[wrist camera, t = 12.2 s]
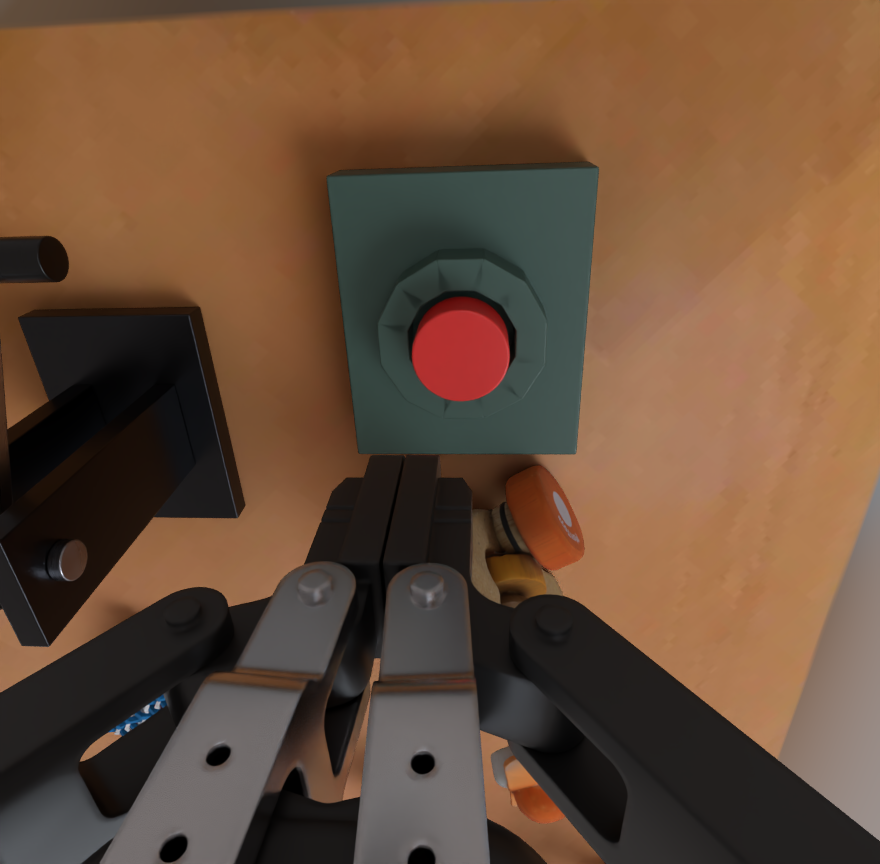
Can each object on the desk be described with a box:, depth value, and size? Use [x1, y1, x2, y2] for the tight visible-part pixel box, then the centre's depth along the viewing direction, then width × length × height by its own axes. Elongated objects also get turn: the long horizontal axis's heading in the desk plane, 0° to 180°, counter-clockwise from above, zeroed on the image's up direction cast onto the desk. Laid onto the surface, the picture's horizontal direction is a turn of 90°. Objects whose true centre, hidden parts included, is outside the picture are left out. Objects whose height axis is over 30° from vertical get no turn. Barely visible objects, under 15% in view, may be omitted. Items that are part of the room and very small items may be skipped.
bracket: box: [0, 307, 245, 647], centre depth 25 cm, size 11×8×13 cm
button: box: [412, 297, 510, 401], centre depth 23 cm, size 4×4×2 cm
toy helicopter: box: [472, 465, 585, 823], centre depth 29 cm, size 8×21×14 cm, turn 33°
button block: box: [326, 162, 599, 454], centre depth 25 cm, size 12×10×4 cm
